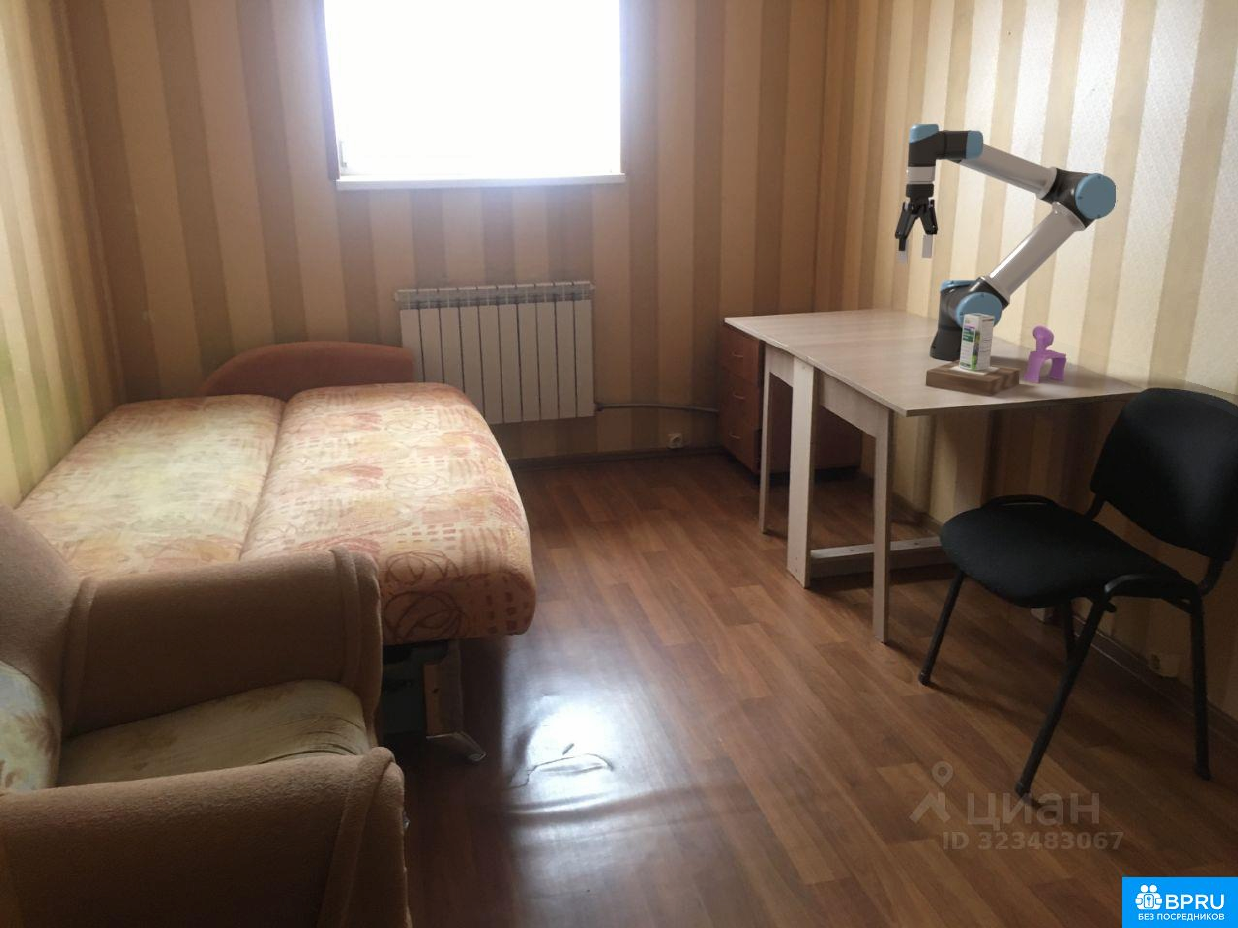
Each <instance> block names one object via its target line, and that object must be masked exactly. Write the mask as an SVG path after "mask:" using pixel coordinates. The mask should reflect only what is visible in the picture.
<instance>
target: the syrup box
mask: <svg viewBox="0 0 1238 928" xmlns="http://www.w3.org/2000/svg"><path fill="white" fill-rule="evenodd" d="M994 318H995V316H988V315H983V314H978V313H973V314H967V315H964V324H963V334H962V345H961V355H960V364H959V367H960V368H964V369H968V370H972V371H979V370H985V369H989V365H991V364H990V363H991V354H992V345H993V335H994V328H995V327H994Z"/></svg>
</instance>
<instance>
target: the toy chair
mask: <svg viewBox="0 0 1238 928" xmlns="http://www.w3.org/2000/svg"><path fill="white" fill-rule="evenodd" d="M1032 337H1033V339H1034V340H1035V350H1031V351H1030V355H1028V366H1027V369H1026V372H1025V373H1024V375H1023V377H1022V379H1024V380H1027V381H1031V382H1033V383H1037V384H1039V383H1040V372H1041V369H1042V367H1043V365H1044V364H1045V362H1046V361H1047V360H1051V368H1050V369H1049V371H1048V373H1047V375H1046V376H1047V377H1050V378H1052V379H1057V380H1059V381H1064V373H1065V372H1064V371H1065V366H1066V363H1067V358H1066V357H1067V354H1066V353H1063V352H1058V351H1056V350H1052V349H1047V348H1048V347H1050V346H1052V345H1053V343H1054V340H1055V335H1054V333H1053V332H1052V331H1051V329H1049V328H1047V327H1045V326H1044V325H1036V326H1034V328H1033V329H1032Z"/></svg>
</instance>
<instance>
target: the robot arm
mask: <svg viewBox="0 0 1238 928" xmlns="http://www.w3.org/2000/svg"><path fill="white" fill-rule="evenodd" d="M907 157H908V158H907V170H906V181H907V182H908V183H906V184H905V197H906V198H909V201H903V202H902V206H901V207H902V208H901V212H900V216H899V219H898V223H897V226H896V229H895V232H894V238H895V239H896V240H898V247H897V249H898V250H897V251H898V252H897V263H899V264H908V263H909V247H910V239H909V236H910V234H911V231H912V229H913V228H914V225H915V223H916V221H917V220H918V219H920V221H921V225H922V228H923V231H924V233H925V234H923V237H922V247H921V248H922V249H921V251H922V252H921V259H932V256H933V247H934V246H933V244H934V242H933V241H934V236H935V235H936V236H937V235H938V231H939V227H938V219H937V213H936V207H935V206H936V200H935V199H933V197H934V195H935V184H934V183H933V182H935V181H936V167H937V161H938V160H939V161H942V160H947V161H949V162H952V163H954V164H958V165H960V166H963V167H965V168H967V169H971V170H973V171H976V172H978V173H981V174H984V175H985V176H988V177H990V178H994V179H996V180H999V181H1001V182H1004V183H1005V184H1009V185H1012V186H1014V187H1017V188H1019V189H1023V190H1025V191H1027V192H1030V193H1033V194H1034V195H1035V197H1036V199H1038V200H1040V201H1042V202H1045V203H1047V204H1049V205H1051V212H1049V214H1047V215H1046V216H1045V217H1044V219H1042V220H1041V221H1040V223H1038V224H1037V225H1036V227H1034V228H1033V229H1032V230H1031V231H1030V232H1029V234H1027V235H1026V236H1025V237H1024V239H1022V240H1021V241H1020V242H1019V243H1018V244H1017V245H1016V246H1015V247H1014V249H1012V250H1011V251H1010V253H1008V254H1007V256H1005V257H1004V258H1003V260H1001V261H1000V263H998V265H996V267H995V268H993V270H991V271H990V273H989V274H988V275H980V276H978V277H977V278H976V279H956V280H955V279H953V280H952V279H947V280H944V281H942V283H941V284H940V285H941V287H940V290H939V293H940V295H939V307H938V308H939V309H938V321H937V323H938V324H937V331H936V333H935V335H934V337H933V340H932V342H931V345H930V347H929V356H930V357H931V358H934V359H938V360H939V359H940V360H944V361H952V362H953V361H956V360H960V355H961V345H962V334H963V324H964V315H967V314H973V313H978V314H983V315H988V316H995V318H994V327H993V328H995V327H996V326H997V325H998V324H999V322H1000V321H1001V319H1002V317H1003V312H1004V310H1006V308H1007V307H1008V306H1010V304H1011V295H1013V294H1014V293H1015V291H1017V290H1018V289H1019V288H1020V287H1021V285H1023V284H1024V283H1025V282H1026V281H1027V280H1028V279H1029V278H1030V277H1031V276H1032V275H1033V274H1034V273H1035V272H1036V271H1037V270H1038V269H1040V267H1041V266H1042V265H1044V263H1045V262H1046V261H1047V260H1048V259H1049V258H1050V257H1052V255H1053V254H1055V252H1056V251H1057V250H1058V249H1059V248H1060V247H1062V245H1063V244H1064V243H1065V242H1066V241H1067V240H1068V239H1069V238H1070V237H1072V235H1074V233H1076V232H1084V231H1085V230H1086V229H1087V228H1088V227H1089V226H1090V225H1091V224H1092V223H1093V222H1095V220H1100V219H1103V218H1105V217H1106V216H1108V215H1109V214H1111V213H1112V212H1113V210H1115V208H1114V207H1116V206H1115V203H1116V186H1117V184H1116V183H1115V181H1114V180H1113V179H1112V178H1111V177H1109V176H1107V175H1104V174H1102V173H1100V172H1099V173H1097V172H1092V173H1091V172H1084V171H1083V172H1084V173H1083V172H1082V171H1072V170H1071V171H1070V170H1066V169H1062V168H1059V167H1056V166H1053V165H1052V166H1050V167H1046V166H1043V165H1040V164H1038V163H1036V162H1033V161H1029V160H1027V159H1024V158H1022V157H1019V156H1017V155H1015V154H1012V153H1009V152H1006V151H1004V150H1001V149H999V148H995V147H994V146H992V145H988V144H985V143H984V136H983V133H982V132H981V130H972V129H970V130H949V129H943V130H940V126H939V124H938V123H919V124H918V123H916V124H912V125H911V127H910V131H909V139H908V154H907ZM1115 184H1116V185H1115ZM931 198H932V199H931Z"/></svg>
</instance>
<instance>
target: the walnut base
mask: <svg viewBox="0 0 1238 928" xmlns="http://www.w3.org/2000/svg"><path fill="white" fill-rule="evenodd" d="M959 364H960V360H956V361H953V360H952V361H951V362H948V363H946V364H945V363H944V364H942V365H939V366H936V367H935V368H932V369H929V370H927V371H926V373H925V374H926V375H925V386H926V387H931V388H938V389H939V388H940V389H944V390H950V391H955V392H962V393H968V394H974V395H979V396H980V395H981V396H986V397H991V396H994V395H995V393H996V394H998V393H1000V392H1003V391H1004V390H1007V389H1009V388H1012V387H1014V386H1016V385H1019V384H1020V379H1021V377H1020V376H1021V368H1017V367H1010V366H1002V365H997V364H995V365H994V364H990V365H989V369H985V370H979V371H972V370H968V369H964V368H960V367H959Z"/></svg>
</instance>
